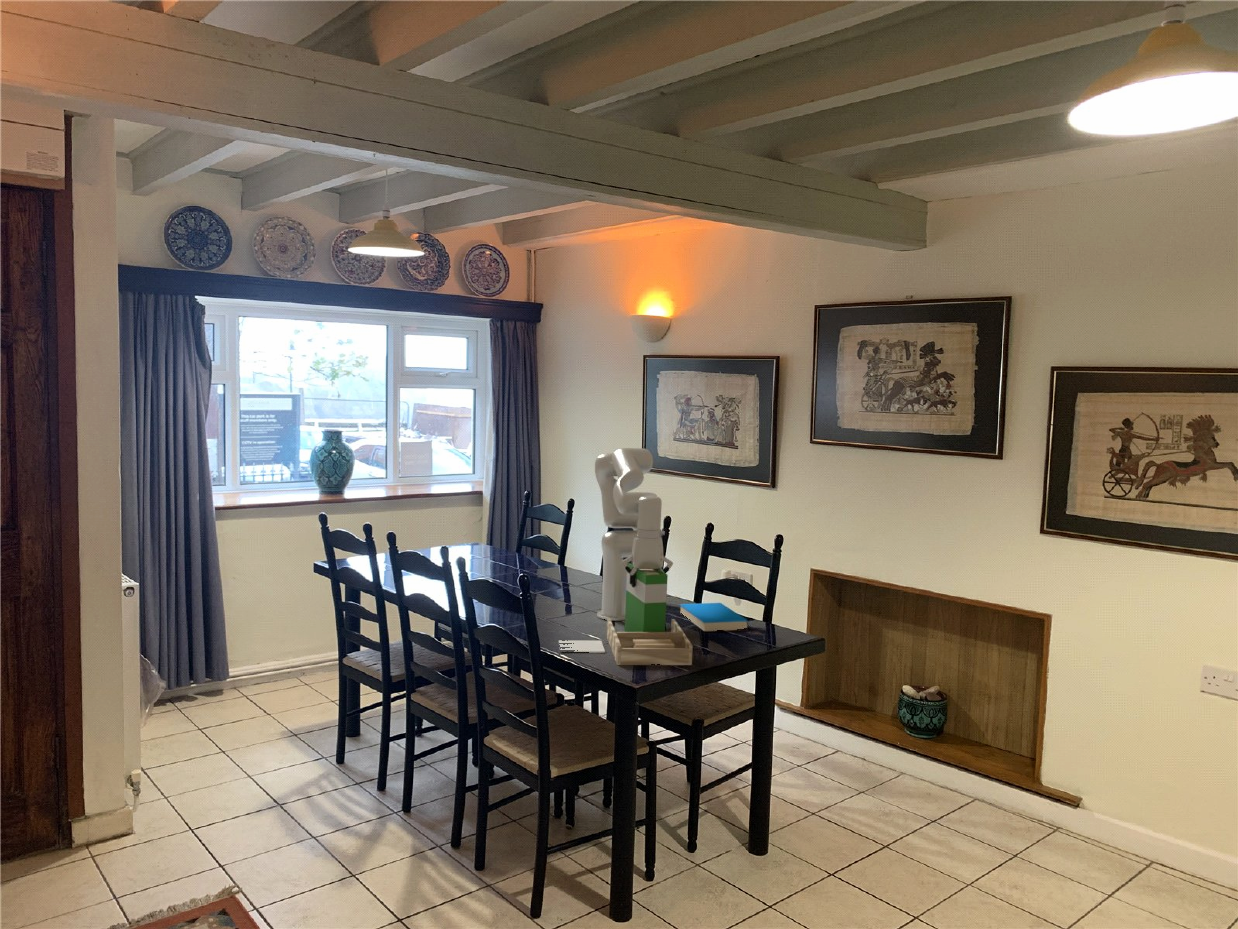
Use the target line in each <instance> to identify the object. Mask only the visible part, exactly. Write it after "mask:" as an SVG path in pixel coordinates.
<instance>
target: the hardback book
mask: <svg viewBox="0 0 1238 929" xmlns="http://www.w3.org/2000/svg"><path fill="white" fill-rule="evenodd" d="M627 565H628V567H629V568H630V569H631V568H632V566H633V565H632V564H631V563H630V562H628V563H627ZM634 575H635V587H632V586H631V584H630V574H629V573H628V571H627V585H626V608H625V620H624V630H623V632H666V616H667V615H666V614H667V596H668V595H667V594H668V577H669V576H668V573H664V572H663V571H661V570H658V569H637V570H636V572H635V573H634Z"/></svg>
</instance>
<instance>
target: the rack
mask: <svg viewBox="0 0 1238 929" xmlns="http://www.w3.org/2000/svg"><path fill="white" fill-rule="evenodd" d="M670 625H671V626H670V631H665V632H624V631H617V632H616V629H615V627H614V624H613V621H611V619H607V620H606V638H607V641H608V645H609V646H610V649H611V651H612V656H613V658H614V657H615V658H614V660H615V663H616V665H617V666H652V665H651V664H655V665H654V666H658V665H657V664H660V665H659V666H692V665H693V664H692V663H693V647H694V646H693V643H691V641H690V640H689V638H688V637H687V635H686V634H685V633H684V631H683V629H682V628H681V626H680V625H679V623H678V622H677V620H676V619H675V618H671V624H670ZM633 639H671V641H672V642H673V644H674V648H632V647H633Z"/></svg>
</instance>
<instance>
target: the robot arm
mask: <svg viewBox="0 0 1238 929" xmlns="http://www.w3.org/2000/svg"><path fill="white" fill-rule="evenodd" d="M653 459H654V458H653V455H652V453H651V451H650V450H648V449H646V448H642V447H641V448H639V447H637V448H636V447H635V448H633V447H623V448H618V449H616V450H615V451H614V452H609V453H608V452H607V453H603V454H600V455H598V456H597V457H596V459H595V461H594V474H595V479H596V482H597V484H598V487H599V489H600V493H601V503H602V504H601V505H602V514H603V516H602V517H603V521H604V524H605V526H606V527H607V528H612V529H632V530H611V531H607V532H605V533H604V534H603V536H602V537H601V551H602V590H601V592H602V594H601V595H602V597H601V610H599V611H597V614H596V616H597V617H598V619H602V620H604V619H605V621H607V619H611V622H613V621H615V622H616V621H617V622H618V621H625V608H626V585H627V571H628V573H629V574H630V584H631V586H632V587H635V575H634V573H635V572H636V570H637V569H658V570H661V571H663V572H664V573H666V574H668V572H669V571H670V569H671V568H672V567H673V565H674V563H673V561H672V560H670V559H669V558H667V557H665V555H664V546H663V545H664V544H663V538H662V536H665V535H666V534H665V533H666V531H665V530H663V529H662V528H661V524H662V505H663V503H662V499H661V497H659V496H657V494H656V493H654V492H648V491H647V492H640V491H639V492H637V491H634V492H633V490H636V489H637V488H639V487H640V486H641V485H642V484H643V482H644V480H645V479H644V478H645V476H644V475H645V474H647V473H649V472H650V471H651V470H652V468H653V464H654V460H653ZM616 477H617V478H618V479H616ZM624 558H625V559H624ZM630 562H631V563H630ZM627 563H630V564H632V565H633V566H632V568H631V569H630V568H629V567H628V565H627ZM664 563H665V564H666V566H664ZM663 566H664V568H663Z"/></svg>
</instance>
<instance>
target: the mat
mask: <svg viewBox="0 0 1238 929" xmlns="http://www.w3.org/2000/svg"><path fill="white" fill-rule="evenodd" d="M559 643H572V644H568V645H567V644H565V645H563V644H559ZM573 643H574V644H573ZM558 645H560V647H570V648H565V649H562V648H561V649H560V647H559V651H560V650H575V651H574V652H589V653H588V654H606V650H605V648H604V644H603V641H602V640H583V639H581V640H579V639H577V640H575V639H574V640H568V641H567V640H565V641H562V640H558ZM571 647H572V648H571ZM577 650H578V651H577Z"/></svg>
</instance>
